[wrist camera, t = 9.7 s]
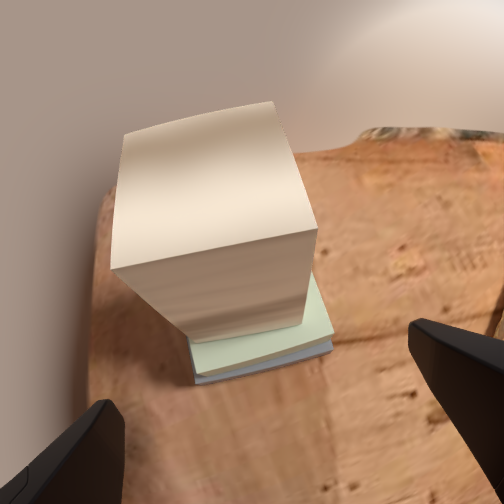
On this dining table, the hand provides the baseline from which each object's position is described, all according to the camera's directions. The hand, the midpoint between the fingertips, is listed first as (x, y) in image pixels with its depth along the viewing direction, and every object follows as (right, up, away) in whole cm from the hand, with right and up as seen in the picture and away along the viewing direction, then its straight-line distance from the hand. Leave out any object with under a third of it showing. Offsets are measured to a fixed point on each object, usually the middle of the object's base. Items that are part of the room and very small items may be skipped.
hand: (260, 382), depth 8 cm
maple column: (-1, +2, +11) cm, 11 cm away
